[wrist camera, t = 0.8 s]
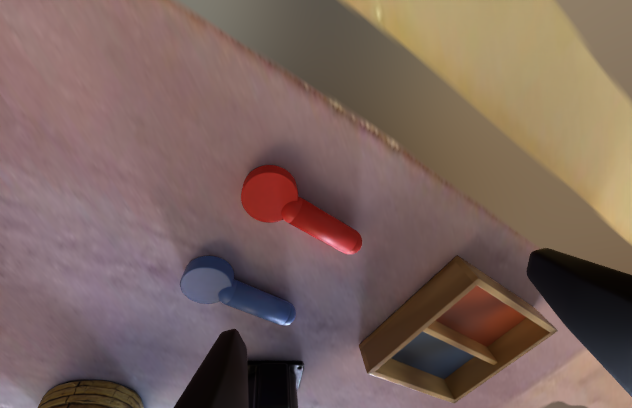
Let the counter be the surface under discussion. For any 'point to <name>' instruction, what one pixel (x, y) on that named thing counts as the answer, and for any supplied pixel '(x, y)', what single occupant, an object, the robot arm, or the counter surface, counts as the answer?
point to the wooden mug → (91, 396)
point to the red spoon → (293, 208)
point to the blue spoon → (231, 291)
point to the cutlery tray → (454, 334)
